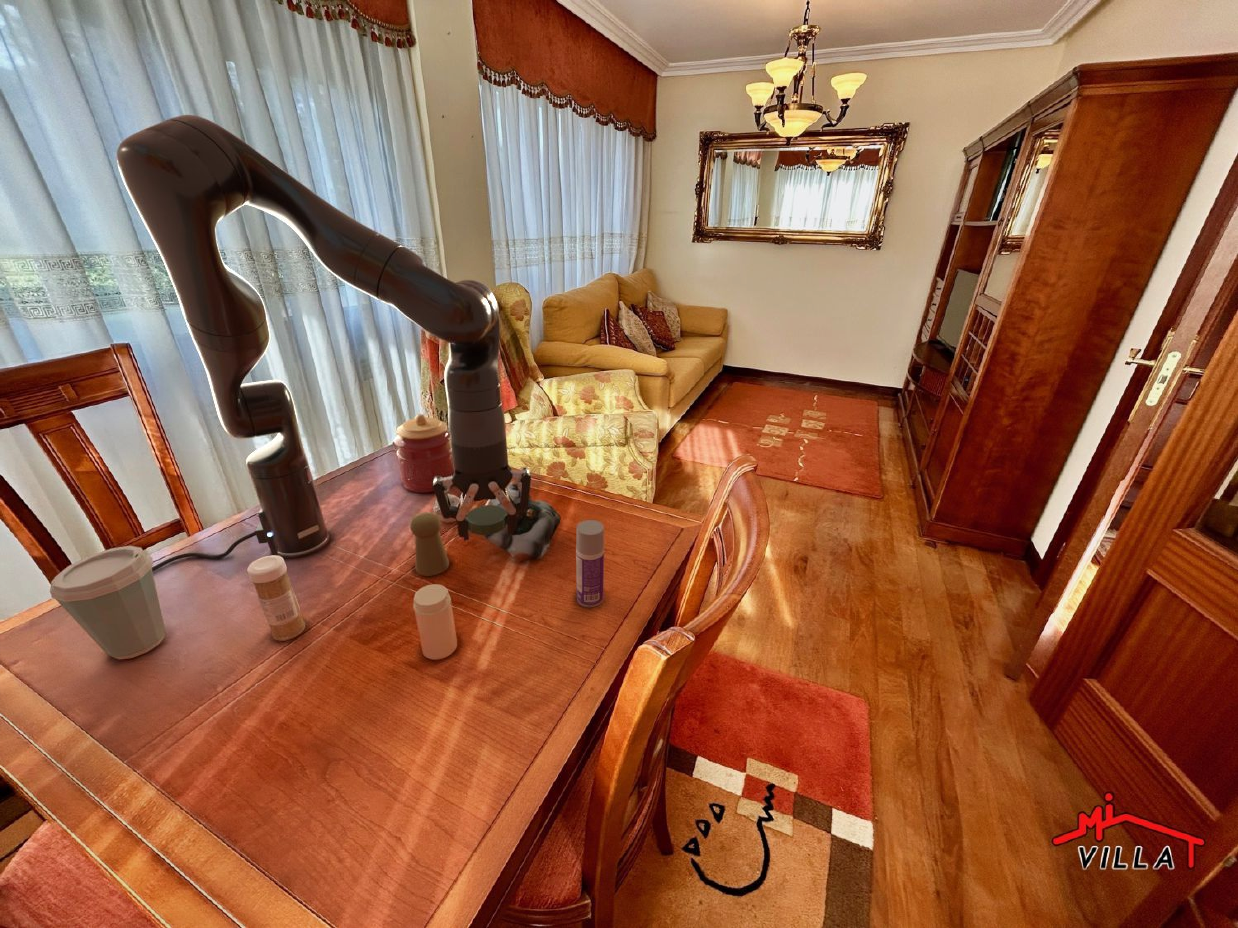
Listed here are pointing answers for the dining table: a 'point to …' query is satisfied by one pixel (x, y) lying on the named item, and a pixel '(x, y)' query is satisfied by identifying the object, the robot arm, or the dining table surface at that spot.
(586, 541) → the container
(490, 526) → the lid
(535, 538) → the lucky cat figurine
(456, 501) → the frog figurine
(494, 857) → the dining table surface
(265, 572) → the sprinkles bottle
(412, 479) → the kitchen canister
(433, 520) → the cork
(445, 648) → the jar
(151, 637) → the disposable coffee cup
